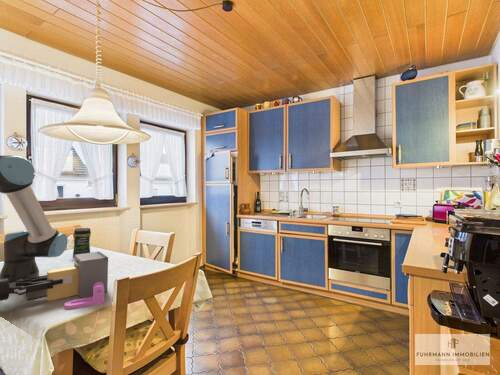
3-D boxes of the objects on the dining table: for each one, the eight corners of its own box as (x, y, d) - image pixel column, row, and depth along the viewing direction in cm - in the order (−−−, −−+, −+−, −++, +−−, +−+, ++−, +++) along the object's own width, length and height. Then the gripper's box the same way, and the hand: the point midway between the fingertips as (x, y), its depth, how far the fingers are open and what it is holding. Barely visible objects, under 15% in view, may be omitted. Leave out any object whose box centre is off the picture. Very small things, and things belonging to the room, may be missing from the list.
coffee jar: (72, 258, 169) (72, 229, 169) (73, 255, 176) (74, 227, 176) (90, 257, 174) (90, 228, 174) (90, 254, 181) (91, 226, 181)
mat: (25, 291, 115) (25, 290, 115) (74, 282, 127) (74, 280, 127) (27, 300, 106) (27, 298, 106) (80, 289, 118) (80, 287, 118)
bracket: (103, 298, 110) (103, 281, 110) (104, 303, 105) (104, 285, 105) (64, 304, 103) (65, 286, 103) (63, 310, 98) (64, 291, 98)
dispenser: (72, 288, 119) (72, 254, 119) (98, 283, 126) (99, 251, 126) (78, 298, 109) (79, 261, 109) (107, 292, 116) (108, 257, 116)
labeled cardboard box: (46, 297, 109) (47, 270, 109) (91, 288, 120) (91, 263, 120) (47, 300, 106) (48, 273, 106) (93, 291, 117) (94, 265, 117)
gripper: (-6, 294, 103) (67, 281, 119) (-7, 309, 90) (75, 292, 106) (-6, 275, 103) (67, 264, 119) (-6, 287, 91) (75, 273, 106)
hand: (70, 277), depth 113 cm, fingers closed on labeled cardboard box, 4 cm apart
